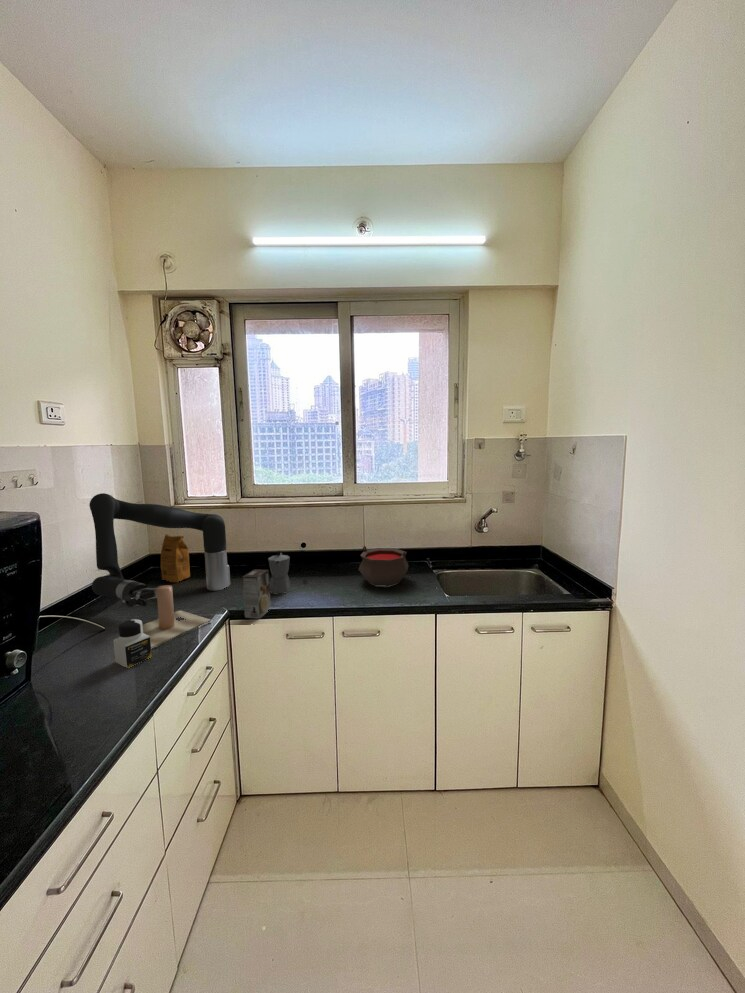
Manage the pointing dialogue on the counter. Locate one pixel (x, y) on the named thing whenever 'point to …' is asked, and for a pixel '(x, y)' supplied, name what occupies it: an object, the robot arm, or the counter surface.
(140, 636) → the medicine bottle
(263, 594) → the coffee box
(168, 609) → the terracotta canister
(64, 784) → the counter surface
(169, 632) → the ash board
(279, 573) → the coffeepot
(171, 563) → the coffee package
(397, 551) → the brown cooking pot
